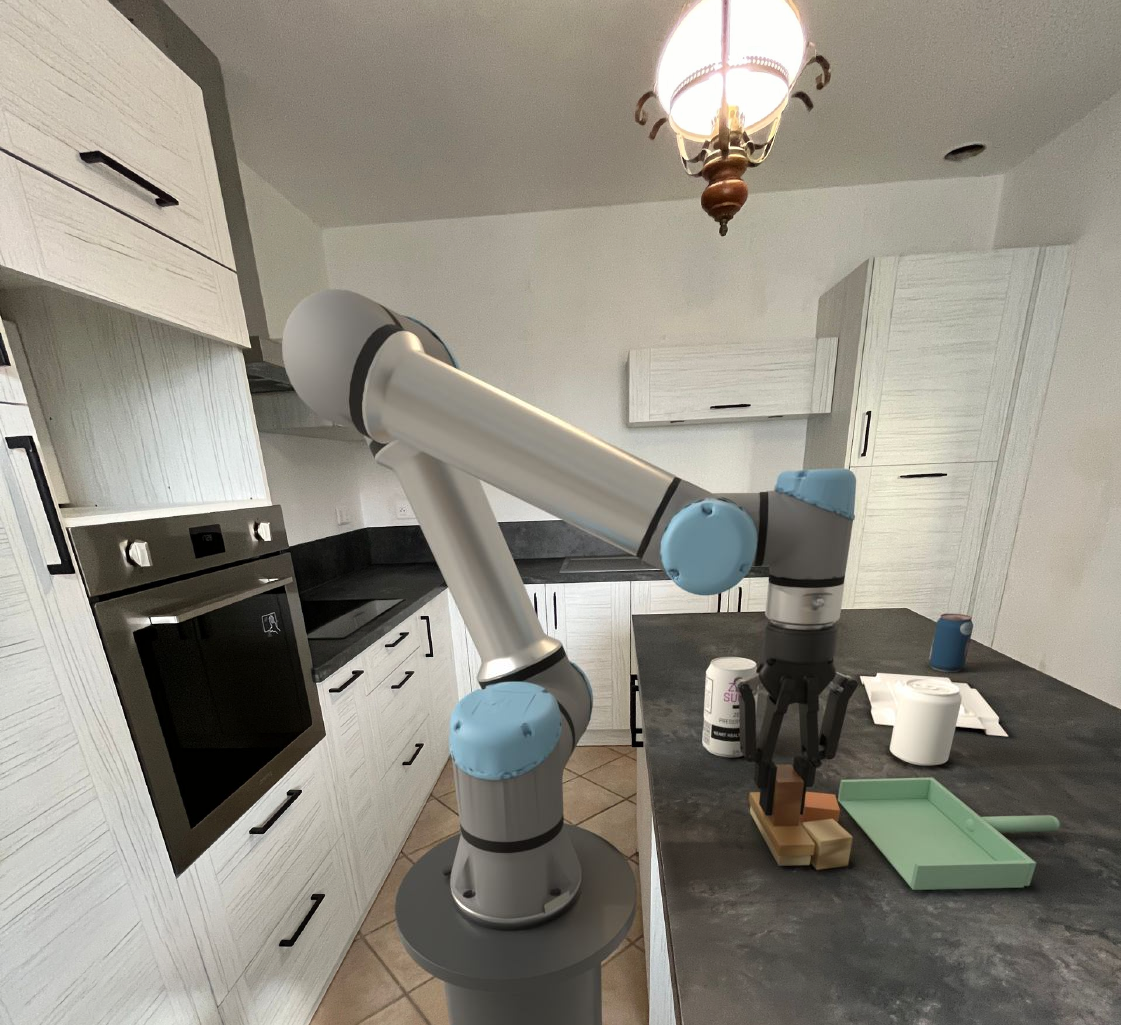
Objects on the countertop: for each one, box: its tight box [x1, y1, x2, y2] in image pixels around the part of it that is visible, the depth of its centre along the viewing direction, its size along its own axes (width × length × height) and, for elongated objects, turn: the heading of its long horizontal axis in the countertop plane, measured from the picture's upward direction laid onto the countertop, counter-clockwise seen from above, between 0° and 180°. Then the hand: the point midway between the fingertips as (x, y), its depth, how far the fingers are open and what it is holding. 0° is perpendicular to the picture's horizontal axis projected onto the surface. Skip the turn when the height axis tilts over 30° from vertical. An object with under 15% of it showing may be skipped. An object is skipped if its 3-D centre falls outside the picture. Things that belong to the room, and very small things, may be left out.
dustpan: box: [837, 777, 1061, 891], centre depth 73 cm, size 23×19×3 cm
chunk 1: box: [799, 791, 841, 824], centre depth 76 cm, size 4×4×4 cm
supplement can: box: [701, 656, 760, 758], centre depth 96 cm, size 8×8×15 cm
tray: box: [859, 672, 1009, 737], centre depth 114 cm, size 20×28×4 cm
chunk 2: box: [802, 819, 854, 871], centre depth 70 cm, size 4×4×4 cm
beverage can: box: [889, 679, 962, 767], centre depth 91 cm, size 8×8×12 cm
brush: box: [748, 763, 815, 867], centre depth 72 cm, size 4×12×9 cm, turn 179°
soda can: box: [928, 613, 974, 673], centre depth 131 cm, size 7×7×12 cm
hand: (780, 808), depth 72 cm, fingers closed on brush, 3 cm apart
